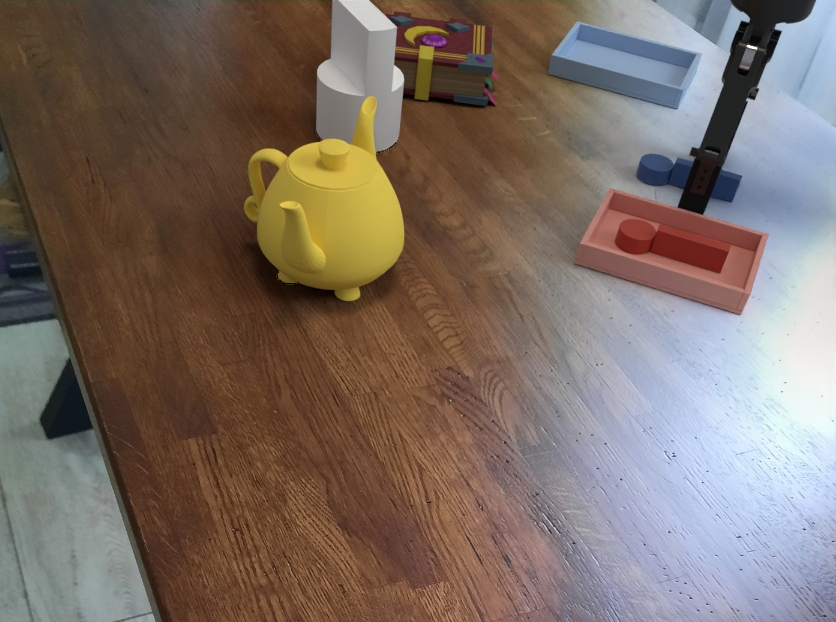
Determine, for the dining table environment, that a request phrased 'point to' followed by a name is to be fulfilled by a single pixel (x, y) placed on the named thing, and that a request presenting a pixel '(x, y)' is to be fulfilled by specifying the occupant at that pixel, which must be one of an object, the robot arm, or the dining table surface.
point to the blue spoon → (683, 175)
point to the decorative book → (444, 58)
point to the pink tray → (665, 272)
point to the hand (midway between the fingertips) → (700, 188)
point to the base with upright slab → (359, 74)
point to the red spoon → (671, 244)
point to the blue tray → (625, 64)
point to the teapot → (328, 212)
